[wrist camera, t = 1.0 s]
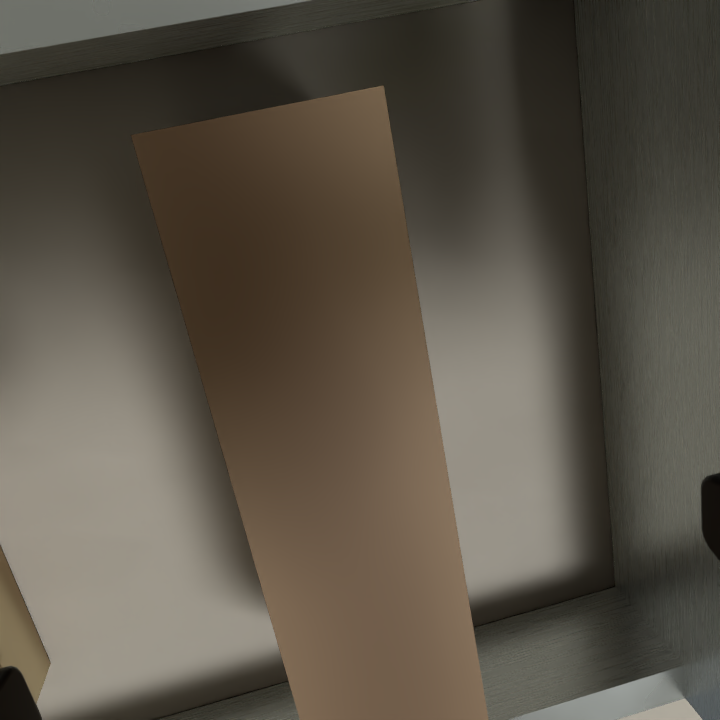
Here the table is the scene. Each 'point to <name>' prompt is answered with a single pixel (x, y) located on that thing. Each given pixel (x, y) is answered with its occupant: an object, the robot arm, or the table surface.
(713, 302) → the frame
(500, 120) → the table surface
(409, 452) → the walnut panel
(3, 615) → the offcut stack
